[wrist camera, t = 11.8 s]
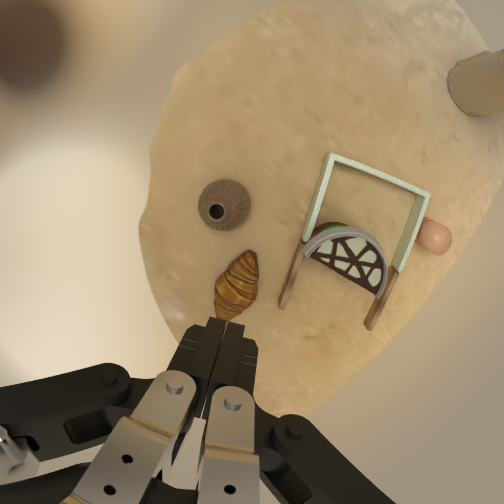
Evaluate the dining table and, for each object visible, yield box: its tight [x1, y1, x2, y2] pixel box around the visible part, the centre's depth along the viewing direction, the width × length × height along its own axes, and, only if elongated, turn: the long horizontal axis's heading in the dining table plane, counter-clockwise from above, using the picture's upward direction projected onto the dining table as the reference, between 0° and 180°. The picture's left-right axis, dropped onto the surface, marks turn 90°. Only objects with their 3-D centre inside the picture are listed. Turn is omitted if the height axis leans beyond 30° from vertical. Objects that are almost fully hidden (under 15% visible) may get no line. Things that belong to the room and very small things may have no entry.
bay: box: [301, 153, 431, 272], centre depth 38 cm, size 13×17×3 cm
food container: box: [302, 222, 387, 299], centre depth 36 cm, size 12×6×10 cm, turn 61°
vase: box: [198, 179, 250, 231], centre depth 37 cm, size 7×7×9 cm
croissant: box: [214, 250, 259, 321], centre depth 43 cm, size 14×7×5 cm, turn 157°
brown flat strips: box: [279, 238, 399, 331], centre depth 42 cm, size 11×17×2 cm, turn 75°
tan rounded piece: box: [415, 217, 452, 255], centre depth 36 cm, size 4×4×6 cm
